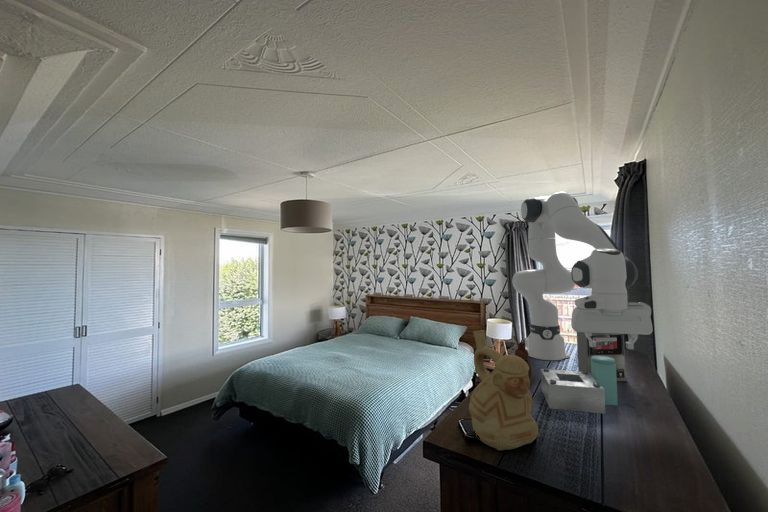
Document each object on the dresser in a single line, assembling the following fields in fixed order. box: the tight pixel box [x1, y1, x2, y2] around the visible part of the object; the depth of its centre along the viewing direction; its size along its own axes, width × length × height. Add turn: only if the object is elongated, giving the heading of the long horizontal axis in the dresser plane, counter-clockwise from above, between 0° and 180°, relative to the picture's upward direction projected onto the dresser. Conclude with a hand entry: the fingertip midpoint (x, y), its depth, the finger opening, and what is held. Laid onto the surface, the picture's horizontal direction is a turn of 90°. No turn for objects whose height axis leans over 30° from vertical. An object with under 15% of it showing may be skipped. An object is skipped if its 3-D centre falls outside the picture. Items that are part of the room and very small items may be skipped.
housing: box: [540, 367, 607, 415], centre depth 97 cm, size 14×14×8 cm
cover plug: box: [591, 356, 619, 407], centre depth 96 cm, size 6×6×13 cm
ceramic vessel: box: [468, 329, 539, 452], centre depth 79 cm, size 17×20×25 cm
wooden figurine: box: [514, 339, 532, 380], centre depth 115 cm, size 7×6×15 cm
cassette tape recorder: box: [576, 332, 629, 382], centre depth 113 cm, size 14×6×25 cm, turn 90°
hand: (610, 347), depth 96 cm, fingers open, 8 cm apart
